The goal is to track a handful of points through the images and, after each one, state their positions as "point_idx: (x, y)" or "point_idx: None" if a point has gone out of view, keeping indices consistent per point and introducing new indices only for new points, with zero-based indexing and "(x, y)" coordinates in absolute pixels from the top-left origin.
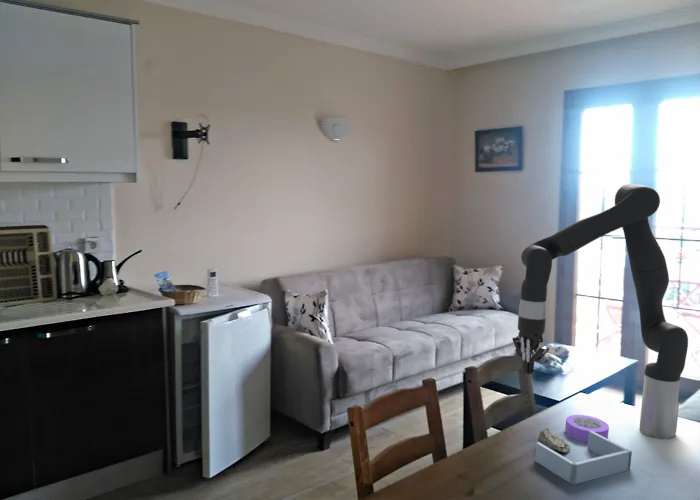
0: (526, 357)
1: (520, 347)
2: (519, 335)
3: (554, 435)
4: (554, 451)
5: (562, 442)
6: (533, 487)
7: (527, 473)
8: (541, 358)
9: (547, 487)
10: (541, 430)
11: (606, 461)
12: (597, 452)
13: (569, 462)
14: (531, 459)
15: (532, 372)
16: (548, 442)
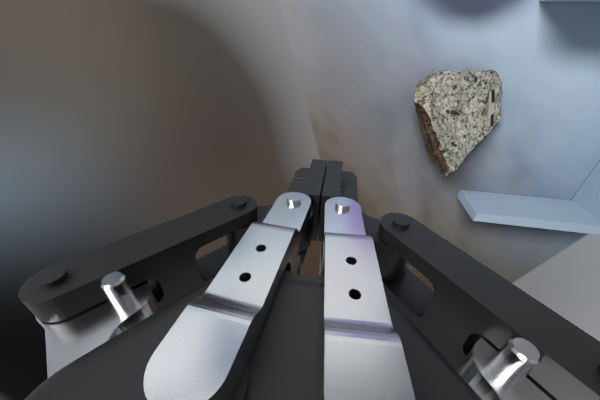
0: (305, 249)
1: (199, 275)
2: None
3: (444, 88)
4: (535, 220)
5: (479, 91)
6: (509, 264)
7: (474, 240)
8: (442, 240)
9: (531, 248)
10: (451, 170)
11: None
12: (589, 1)
13: (595, 233)
14: (447, 197)
15: (352, 175)
16: (467, 154)
